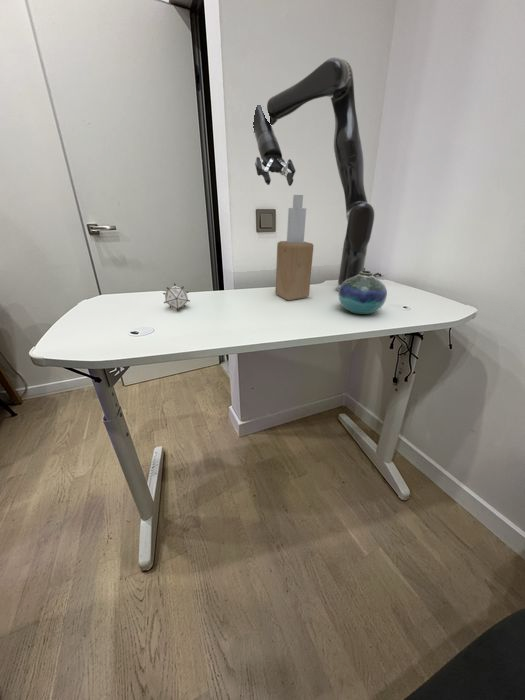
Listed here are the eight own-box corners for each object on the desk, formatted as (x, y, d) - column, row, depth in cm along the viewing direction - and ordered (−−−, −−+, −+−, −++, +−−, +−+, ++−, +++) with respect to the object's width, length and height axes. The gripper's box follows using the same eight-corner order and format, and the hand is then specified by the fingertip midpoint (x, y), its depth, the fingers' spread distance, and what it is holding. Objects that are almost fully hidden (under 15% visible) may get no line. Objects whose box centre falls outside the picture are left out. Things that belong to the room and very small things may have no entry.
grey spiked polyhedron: (185, 318, 100) (199, 297, 96) (162, 316, 94) (177, 293, 89) (175, 300, 104) (189, 279, 99) (153, 296, 97) (167, 274, 93)
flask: (304, 241, 107) (307, 195, 100) (303, 243, 101) (306, 194, 94) (287, 240, 107) (290, 194, 101) (286, 242, 102) (288, 194, 95)
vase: (365, 302, 108) (372, 266, 102) (392, 317, 95) (402, 276, 89) (328, 305, 104) (333, 267, 98) (351, 321, 91) (358, 278, 85)
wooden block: (287, 301, 108) (291, 244, 98) (274, 294, 115) (276, 241, 106) (309, 298, 112) (314, 243, 102) (295, 291, 120) (299, 239, 110)
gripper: (253, 137, 102) (264, 173, 98) (290, 140, 107) (302, 175, 102) (248, 157, 109) (258, 191, 105) (283, 159, 114) (294, 192, 109)
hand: (280, 183), depth 104 cm, fingers open, 8 cm apart
